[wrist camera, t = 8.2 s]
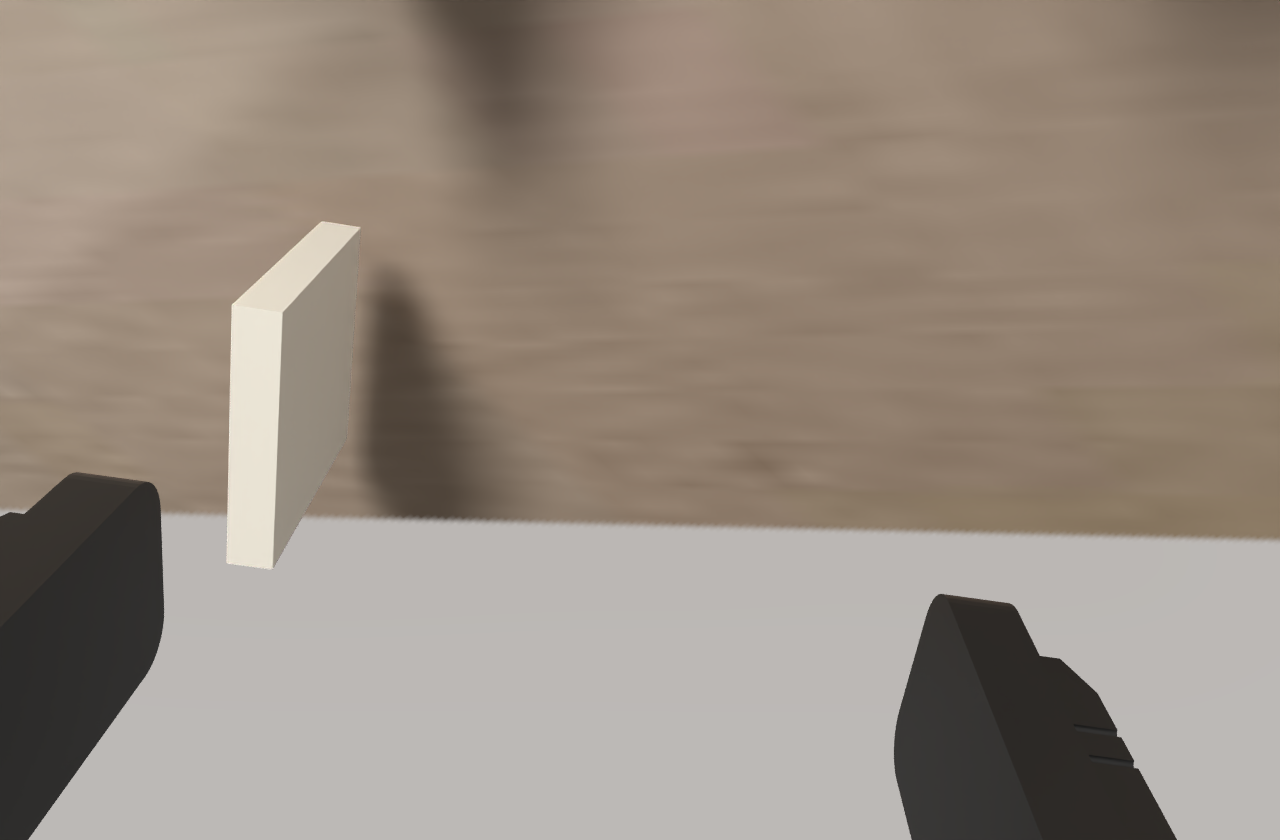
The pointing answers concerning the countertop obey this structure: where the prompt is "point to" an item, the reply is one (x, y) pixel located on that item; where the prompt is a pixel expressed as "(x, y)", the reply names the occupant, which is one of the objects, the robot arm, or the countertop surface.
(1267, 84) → the countertop surface
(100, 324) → the countertop surface
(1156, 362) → the countertop surface
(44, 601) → the robot arm
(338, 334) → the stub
